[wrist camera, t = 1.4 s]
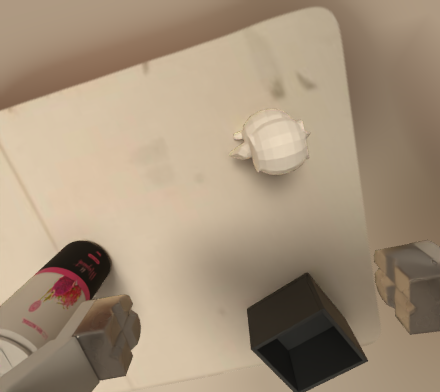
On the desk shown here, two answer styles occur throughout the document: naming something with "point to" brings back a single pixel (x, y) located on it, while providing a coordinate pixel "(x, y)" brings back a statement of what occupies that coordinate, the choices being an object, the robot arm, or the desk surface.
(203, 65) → the desk surface
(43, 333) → the beverage can
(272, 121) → the figurine
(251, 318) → the dark grey hollow box
